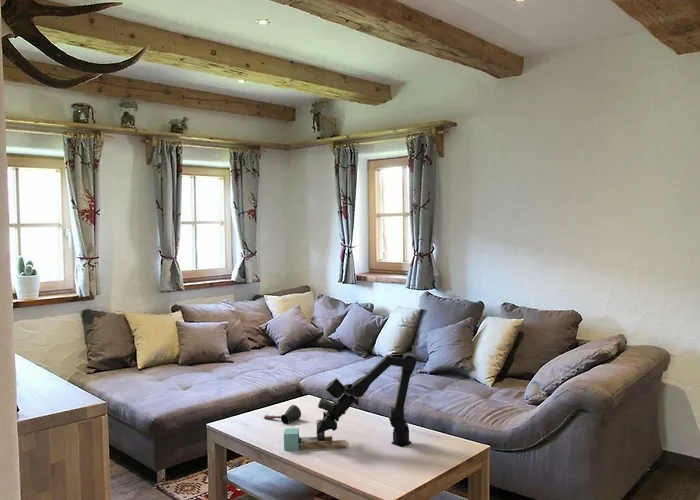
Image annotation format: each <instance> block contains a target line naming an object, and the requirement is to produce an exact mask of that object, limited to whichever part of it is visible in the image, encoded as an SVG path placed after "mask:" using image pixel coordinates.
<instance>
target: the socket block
mask: <svg viewBox="0 0 700 500" xmlns="http://www.w3.org/2000/svg"><path fill="white" fill-rule="evenodd" d="M298 437H300V427H288V428H284V431H283V451H299V445H300V444H298Z"/></svg>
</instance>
